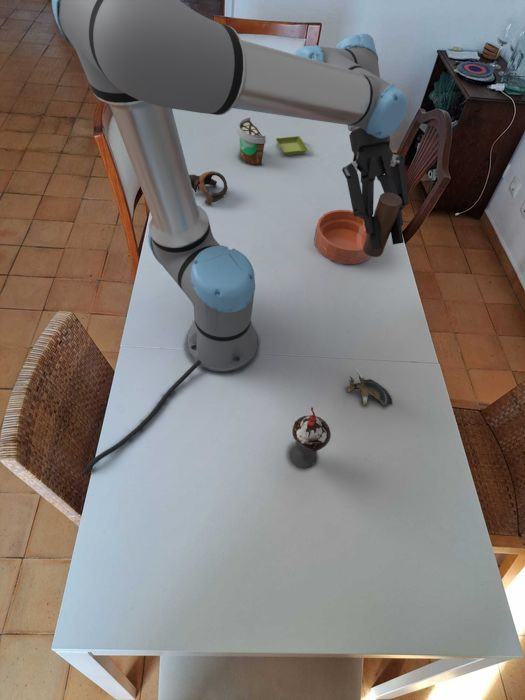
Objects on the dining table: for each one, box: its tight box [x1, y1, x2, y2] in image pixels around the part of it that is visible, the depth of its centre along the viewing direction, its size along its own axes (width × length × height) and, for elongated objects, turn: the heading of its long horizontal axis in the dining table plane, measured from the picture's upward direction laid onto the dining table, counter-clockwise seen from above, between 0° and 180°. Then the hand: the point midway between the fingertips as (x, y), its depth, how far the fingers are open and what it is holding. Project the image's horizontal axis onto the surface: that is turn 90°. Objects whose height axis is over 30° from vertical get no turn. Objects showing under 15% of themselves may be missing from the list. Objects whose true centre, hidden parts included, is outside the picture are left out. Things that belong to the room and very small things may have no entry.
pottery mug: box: [189, 170, 229, 206], centre depth 130 cm, size 12×10×8 cm
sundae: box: [289, 406, 332, 469], centre depth 81 cm, size 7×7×15 cm
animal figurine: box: [347, 368, 393, 407], centre depth 93 cm, size 8×7×9 cm
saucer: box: [275, 135, 309, 156], centre depth 150 cm, size 9×9×2 cm
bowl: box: [313, 209, 372, 265], centre depth 122 cm, size 16×16×6 cm
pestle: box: [363, 192, 402, 258], centre depth 94 cm, size 4×4×13 cm
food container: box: [236, 117, 267, 166], centre depth 141 cm, size 12×6×10 cm, turn 25°
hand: (387, 246), depth 94 cm, fingers closed on pestle, 4 cm apart
